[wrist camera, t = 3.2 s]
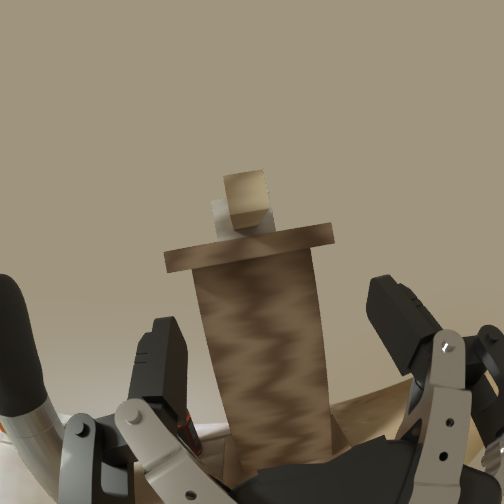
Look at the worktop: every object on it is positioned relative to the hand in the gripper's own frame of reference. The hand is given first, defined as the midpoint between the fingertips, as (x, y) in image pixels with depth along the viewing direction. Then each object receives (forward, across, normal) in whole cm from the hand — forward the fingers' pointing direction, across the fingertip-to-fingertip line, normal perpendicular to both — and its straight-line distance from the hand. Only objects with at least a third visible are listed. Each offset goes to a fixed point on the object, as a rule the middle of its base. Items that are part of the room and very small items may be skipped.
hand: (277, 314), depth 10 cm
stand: (+4, 0, +35) cm, 35 cm away
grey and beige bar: (+15, 0, +4) cm, 15 cm away
